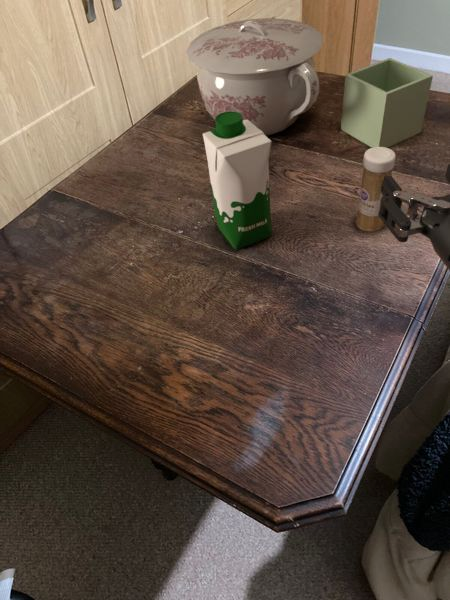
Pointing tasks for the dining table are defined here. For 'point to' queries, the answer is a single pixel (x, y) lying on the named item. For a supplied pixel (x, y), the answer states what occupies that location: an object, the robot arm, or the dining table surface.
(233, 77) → the chamber pot
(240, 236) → the milk carton
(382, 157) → the sprinkles bottle
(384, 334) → the dining table surface
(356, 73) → the bin
